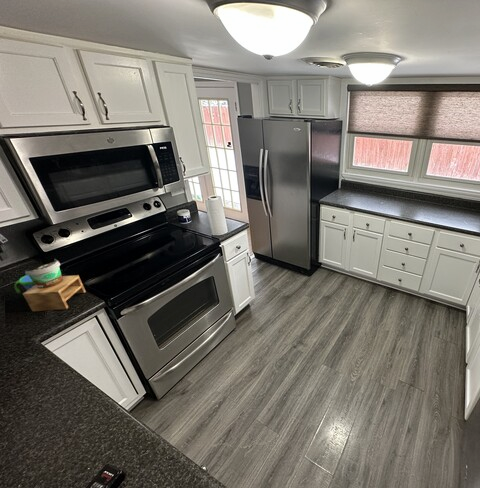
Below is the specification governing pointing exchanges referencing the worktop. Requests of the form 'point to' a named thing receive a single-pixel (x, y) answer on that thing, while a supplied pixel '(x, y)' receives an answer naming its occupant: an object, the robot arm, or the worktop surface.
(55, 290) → the shelf
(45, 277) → the food container
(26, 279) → the snack cup
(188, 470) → the worktop surface
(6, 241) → the robot arm
